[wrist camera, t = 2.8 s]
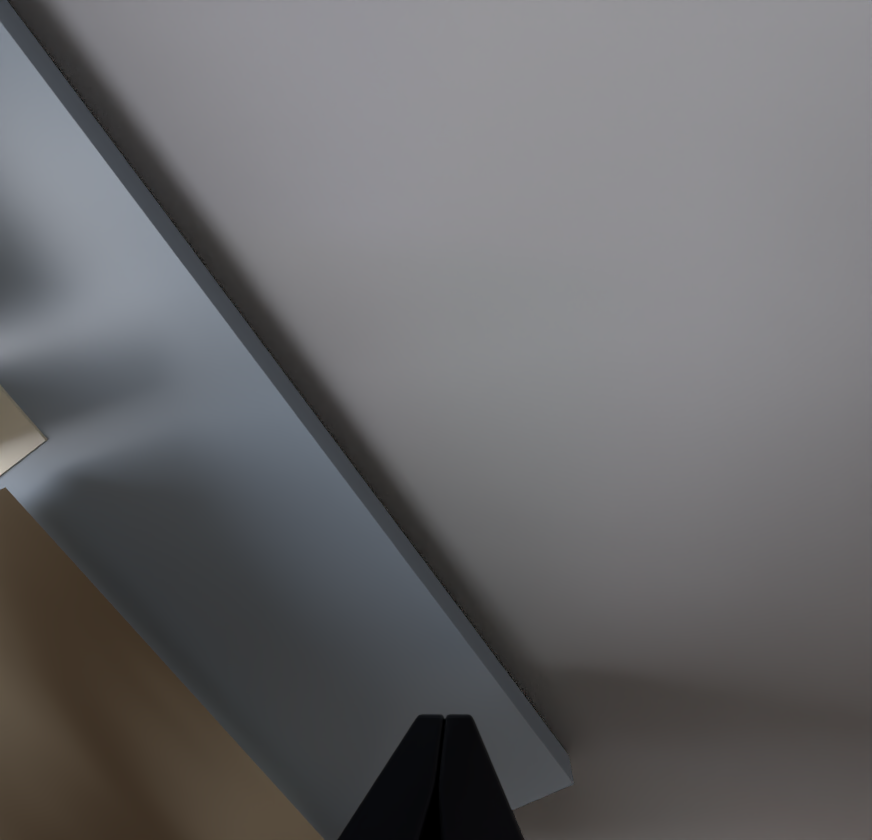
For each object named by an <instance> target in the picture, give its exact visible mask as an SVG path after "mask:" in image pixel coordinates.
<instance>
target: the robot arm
mask: <svg viewBox="0 0 872 840" xmlns="http://www.w3.org/2000/svg"><path fill="white" fill-rule="evenodd" d="M337 840H524V838H523V835H522V833H521V830H520V828H519V826H518V823H517V821H516V819H515V816H514V814H513V811H512V809H511V807H510V804H509V802H508V799H507V797H506V795H505V792H504V790H503V788H502V785H501V783H500V780H499V778H498V776H497V773H496V771H495V768H494V766H493V764H492V761H491V759H490V756H489V754H488V752H487V749H486V747H485V745H484V742H483V740H482V737H481V735H480V733H479V730H478V728H477V725H476V723H475V721H474V719H473V717H472V716H471V715H470V714H448V715H447V716H446V718H444V716H443V715H442V714H420V715H418V716H417V717H416V719H415V720H414V722H413V723H412V725H411V726H410V728H409V729H408V731H407V732H406V734H405V736H404V737H403V739H402V740H401V742H400V743H399V745H398V746H397V748H396V749H395V751H394V753H393V754H392V756H391V757H390V759H389V760H388V762H387V763H386V765H385V766H384V768H383V770H382V771H381V773H380V774H379V776H378V777H377V779H376V780H375V782H374V783H373V785H372V787H371V788H370V790H369V791H368V793H367V794H366V796H365V797H364V799H363V800H362V802H361V804H360V805H359V807H358V808H357V810H356V811H355V813H354V814H353V816H352V817H351V819H350V821H349V822H348V824H347V825H346V827H345V828H344V830H343V831H342V833H341V835H340V836H339V838H338V839H337Z"/></svg>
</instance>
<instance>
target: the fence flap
mask: <svg viewBox="0 0 872 840" xmlns="http://www.w3.org/2000/svg"><path fill="white" fill-rule="evenodd" d="M0 840H324V838H323V837H322V836H321V835H320V834H319V833H318V832H317V831H316V830H315V829H314V827H313V826H312V825H311V824H310V823H309V822H308V821H307V820H306V819H305V818H304V816H303V815H302V814H301V813H300V812H299V811H298V810H297V809H296V808H295V806H294V805H293V804H292V803H291V802H290V801H289V800H288V799H287V798H286V797H285V795H284V794H283V793H282V792H281V791H280V790H279V789H278V788H277V787H276V785H275V784H274V783H273V782H272V781H271V780H270V779H269V778H268V777H267V776H266V774H265V773H264V772H263V771H262V770H261V769H260V768H259V767H258V766H257V764H256V763H255V762H254V761H253V760H252V759H251V758H250V757H249V756H248V755H247V753H246V752H245V751H244V750H243V749H242V748H241V747H240V746H239V745H238V744H237V742H236V741H235V740H234V739H233V738H232V737H231V736H230V735H229V734H228V732H227V731H226V730H225V729H224V728H223V727H222V726H221V725H220V724H219V723H218V721H217V720H216V719H215V718H214V717H213V716H212V715H211V714H210V713H209V711H208V710H207V709H206V708H205V707H204V706H203V705H202V704H201V703H200V702H199V700H198V699H197V698H196V697H195V696H194V695H193V694H192V693H191V692H190V690H189V689H188V688H187V687H186V686H185V685H184V684H183V683H182V682H181V681H180V679H179V678H178V677H177V676H176V675H175V674H174V673H173V672H172V671H171V670H170V668H169V667H168V666H167V665H166V664H165V663H164V662H163V661H162V660H161V658H160V657H159V656H158V655H157V654H156V653H155V652H154V651H153V650H152V649H151V647H150V646H149V645H148V644H147V643H146V642H145V641H144V640H143V639H142V637H141V636H140V635H139V634H138V633H137V632H136V631H135V630H134V629H133V628H132V626H131V625H130V624H129V623H128V622H127V621H126V620H125V619H124V618H123V616H122V615H121V614H120V613H119V612H118V611H117V610H116V609H115V608H114V607H113V605H112V604H111V603H110V602H109V601H108V600H107V599H106V598H105V597H104V595H103V594H102V593H101V592H100V591H99V590H98V589H97V588H96V587H95V586H94V584H93V583H92V582H91V581H90V580H89V579H88V578H87V577H86V576H85V575H84V573H83V572H82V571H81V570H80V569H79V568H78V567H77V566H76V565H75V563H74V562H73V561H72V560H71V559H70V558H69V557H68V556H67V555H66V554H65V552H64V551H63V550H62V549H61V548H60V547H59V546H58V545H57V544H56V542H55V541H54V540H53V539H52V538H51V537H50V536H49V535H48V534H47V533H46V531H45V530H44V529H43V528H42V527H41V526H40V525H39V524H38V523H37V521H36V520H35V519H34V518H33V517H32V516H31V515H30V514H29V513H28V512H27V510H26V509H25V508H24V507H23V506H22V505H21V504H20V503H19V502H18V501H17V499H16V498H15V497H14V496H13V495H12V494H11V493H10V492H9V491H8V489H7V488H6V487H5V488H3V489H1V490H0Z"/></svg>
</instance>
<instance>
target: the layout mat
mask: <svg viewBox="0 0 872 840" xmlns="http://www.w3.org/2000/svg"><path fill="white" fill-rule="evenodd" d="M5 487H6V488H7V489H8V491H9V492H10V493H11V494H12V495H13V496H14V497H15V498H16V499H17V501H18V502H19V503H20V504H21V505H22V506H23V507H24V508H25V509H26V510H27V512H28V513H29V514H30V515H31V516H32V517H33V518H34V519H35V520H36V521H37V523H38V524H39V525H40V526H41V527H42V528H43V529H44V530H45V531H46V533H47V534H48V535H49V536H50V537H51V538H52V539H53V540H54V541H55V542H56V544H57V545H58V546H59V547H60V548H61V549H62V550H63V551H64V552H65V554H66V555H67V556H68V557H69V558H70V559H71V560H72V561H73V562H74V563H75V565H76V566H77V567H78V568H79V569H80V570H81V571H82V572H83V573H84V575H85V576H86V577H87V578H88V579H89V580H90V581H91V582H92V583H93V584H94V586H95V587H96V588H97V589H98V590H99V591H100V592H101V593H102V594H103V595H104V597H105V598H106V599H107V600H108V601H109V602H110V603H111V604H112V605H113V607H114V608H115V609H116V610H117V611H118V612H119V613H120V614H121V615H122V616H123V618H124V619H125V620H126V621H127V622H128V623H129V624H130V625H131V626H132V628H133V629H134V630H135V631H136V632H137V633H138V634H139V635H140V636H141V637H142V639H143V640H144V641H145V642H146V643H147V644H148V645H149V646H150V647H151V649H152V650H153V651H154V652H155V653H156V654H157V655H158V656H159V657H160V658H161V660H162V661H163V662H164V663H165V664H166V665H167V666H168V667H169V668H170V670H171V671H172V672H173V673H174V674H175V675H176V676H177V677H178V678H179V679H180V681H181V682H182V683H183V684H184V685H185V686H186V687H187V688H188V689H189V690H190V692H191V693H192V694H193V695H194V696H195V697H196V698H197V699H198V700H199V702H200V703H201V704H202V705H203V706H204V707H205V708H206V709H207V710H208V711H209V713H210V714H211V715H212V716H213V717H214V718H215V719H216V720H217V721H218V723H219V724H220V725H221V726H222V727H223V728H224V729H225V730H226V731H227V732H228V734H229V735H230V736H231V737H232V738H233V739H234V740H235V741H236V742H237V744H238V745H239V746H240V747H241V748H242V749H243V750H244V751H245V752H246V753H247V755H248V756H249V757H250V758H251V759H252V760H253V761H254V762H255V763H256V764H257V766H258V767H259V768H260V769H261V770H262V771H263V772H264V773H265V774H266V776H267V777H268V778H269V779H270V780H271V781H272V782H273V783H274V784H275V785H276V787H277V788H278V789H279V790H280V791H281V792H282V793H283V794H284V795H285V797H286V798H287V799H288V800H289V801H290V802H291V803H292V804H293V805H294V806H295V808H296V809H297V810H298V811H299V812H300V813H301V814H302V815H303V816H304V818H305V819H306V820H307V821H308V822H309V823H310V824H311V825H312V826H313V827H314V829H315V830H316V831H317V832H318V833H319V834H320V835H321V836H322V837H323V838H324V840H337V839H338V838H339V836H340V835H341V833H342V831H343V830H344V828H345V827H346V825H347V824H348V822H349V821H350V819H351V817H352V816H353V814H354V813H355V811H356V810H357V808H358V807H359V805H360V804H361V802H362V800H363V799H364V797H365V796H366V794H367V793H368V791H369V790H370V788H371V787H372V785H373V783H374V782H375V780H376V779H377V777H378V776H379V774H380V773H381V771H382V770H383V768H384V766H385V765H386V763H387V762H388V760H389V759H390V757H391V756H392V754H393V753H394V751H395V749H396V748H397V746H398V745H399V743H400V742H401V740H402V739H403V737H404V736H405V734H406V732H407V731H408V729H409V728H410V726H411V725H412V723H413V722H414V720H415V719H416V717H417V716H418V715H420V714H442V715H443V716H444V718H446V716H447V715H448V714H470V715H471V716H472V717H473V719H474V721H475V723H476V725H477V728H478V730H479V733H480V735H481V737H482V740H483V742H484V745H485V747H486V749H487V752H488V754H489V756H490V759H491V761H492V764H493V766H494V768H495V771H496V773H497V776H498V778H499V780H500V783H501V785H502V788H503V790H504V792H505V795H506V797H507V799H508V802H509V804H510V807H511V809H512V810H514V809H517V808H519V807H522V806H524V805H526V804H529V803H531V802H533V801H536V800H538V799H540V798H543V797H545V796H547V795H550V794H552V793H555V792H557V791H559V790H562V789H564V788H566V787H569V786H571V785H573V784H574V782H573V776H572V771H571V765H570V760H569V755H568V754H567V752H566V751H565V750H564V748H563V747H562V746H561V744H560V743H559V742H558V740H557V739H556V738H555V736H554V735H553V734H552V732H551V731H550V730H549V728H548V727H547V726H546V724H545V723H544V722H543V720H542V719H541V717H540V716H539V715H538V713H537V712H536V711H535V709H534V708H533V707H532V705H531V704H530V703H529V701H528V700H527V699H526V697H525V696H524V695H523V693H522V692H521V691H520V689H519V688H518V687H517V685H516V684H515V683H514V681H513V680H512V678H511V677H510V676H509V674H508V673H507V672H506V670H505V669H504V668H503V666H502V665H501V664H500V662H499V661H498V660H497V658H496V657H495V656H494V654H493V653H492V652H491V650H490V649H489V648H488V646H487V645H486V644H485V642H484V641H483V639H482V638H481V637H480V635H479V634H478V633H477V631H476V630H475V629H474V627H473V626H472V625H471V623H470V622H469V621H468V619H467V618H466V617H465V615H464V614H463V613H462V611H461V610H460V609H459V607H458V606H457V605H456V603H455V602H454V600H453V599H452V598H451V596H450V595H449V594H448V592H447V591H446V590H445V588H444V587H443V586H442V584H441V583H440V582H439V580H438V579H437V578H436V576H435V575H434V574H433V572H432V571H431V570H430V568H429V567H428V566H427V564H426V563H425V562H424V560H423V559H422V557H421V556H420V555H419V553H418V552H417V551H416V549H415V548H414V547H413V545H412V544H411V543H410V541H409V540H408V539H407V537H406V536H405V535H404V533H403V532H402V531H401V529H400V528H399V527H398V525H397V524H396V523H395V521H394V520H393V518H392V517H391V516H390V514H389V513H388V512H387V510H386V509H385V508H384V506H383V505H382V504H381V502H380V501H379V500H378V498H377V497H376V496H375V494H374V493H373V492H372V490H371V489H370V488H369V486H368V485H367V484H366V482H365V481H364V479H363V478H362V477H361V475H360V474H359V473H358V471H357V470H356V469H355V467H354V466H353V465H352V463H351V462H350V461H349V459H348V458H347V457H346V455H345V454H344V453H343V451H342V450H341V449H340V447H339V446H338V445H337V443H336V442H335V440H334V439H333V438H332V436H331V435H330V434H329V432H328V431H327V430H326V428H325V427H324V426H323V424H322V423H321V422H320V420H319V419H318V418H317V416H316V415H315V414H314V412H313V411H312V410H311V408H310V407H309V406H308V404H307V403H306V402H305V400H304V399H303V397H302V396H301V395H300V393H299V392H298V391H297V389H296V388H295V387H294V385H293V384H292V383H291V381H290V380H289V379H288V377H287V376H286V375H285V373H284V372H283V371H282V369H281V368H280V367H279V365H278V364H277V363H276V361H275V360H274V358H273V357H272V356H271V354H270V353H269V352H268V350H267V349H266V348H265V346H264V345H263V344H262V342H261V341H260V340H259V338H258V337H257V336H256V334H255V333H254V332H253V330H252V329H251V328H250V326H249V325H248V324H247V322H246V321H245V319H244V318H243V317H242V315H241V314H240V313H239V311H238V310H237V309H236V307H235V306H234V305H233V303H232V302H231V301H230V299H229V298H228V297H227V295H226V294H225V293H224V291H223V290H222V289H221V287H220V286H219V285H218V283H217V282H216V281H215V279H214V278H213V276H212V275H211V274H210V272H209V271H208V270H207V268H206V267H205V266H204V264H203V263H202V262H201V260H200V259H199V258H198V256H197V255H196V254H195V252H194V251H193V250H192V248H191V247H190V246H189V244H188V243H187V242H186V240H185V239H184V237H183V236H182V235H181V233H180V232H179V231H178V229H177V228H176V227H175V225H174V224H173V223H172V221H171V220H170V219H169V217H168V216H167V215H166V213H165V212H164V211H163V209H162V208H161V207H160V205H159V204H158V203H157V201H156V200H155V198H154V197H153V196H152V194H151V193H150V192H149V190H148V189H147V188H146V186H145V185H144V184H143V182H142V181H141V180H140V178H139V177H138V176H137V174H136V173H135V172H134V170H133V169H132V168H131V166H130V165H129V164H128V162H127V161H126V159H125V158H124V157H123V155H122V154H121V153H120V151H119V150H118V149H117V147H116V146H115V145H114V143H113V142H112V141H111V139H110V138H109V137H108V135H107V134H106V133H105V131H104V130H103V129H102V127H101V126H100V125H99V123H98V122H97V121H96V119H95V118H94V116H93V115H92V114H91V112H90V111H89V110H88V108H87V107H86V106H85V104H84V103H83V102H82V100H81V99H80V98H79V96H78V95H77V94H76V92H75V91H74V90H73V88H72V87H71V86H70V84H69V83H68V82H67V80H66V79H65V77H64V76H63V75H62V73H61V72H60V71H59V69H58V68H57V67H56V65H55V64H54V63H53V61H52V60H51V59H50V57H49V56H48V55H47V53H46V52H45V51H44V49H43V48H42V47H41V45H40V44H39V43H38V41H37V40H36V38H35V37H34V36H33V34H32V33H31V32H30V30H29V29H28V28H27V26H26V25H25V24H24V22H23V21H22V20H21V18H20V17H19V16H18V14H17V13H16V12H15V10H14V9H13V8H12V6H11V5H10V4H9V2H8V1H7V0H0V490H1V489H3V488H5Z"/></svg>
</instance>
